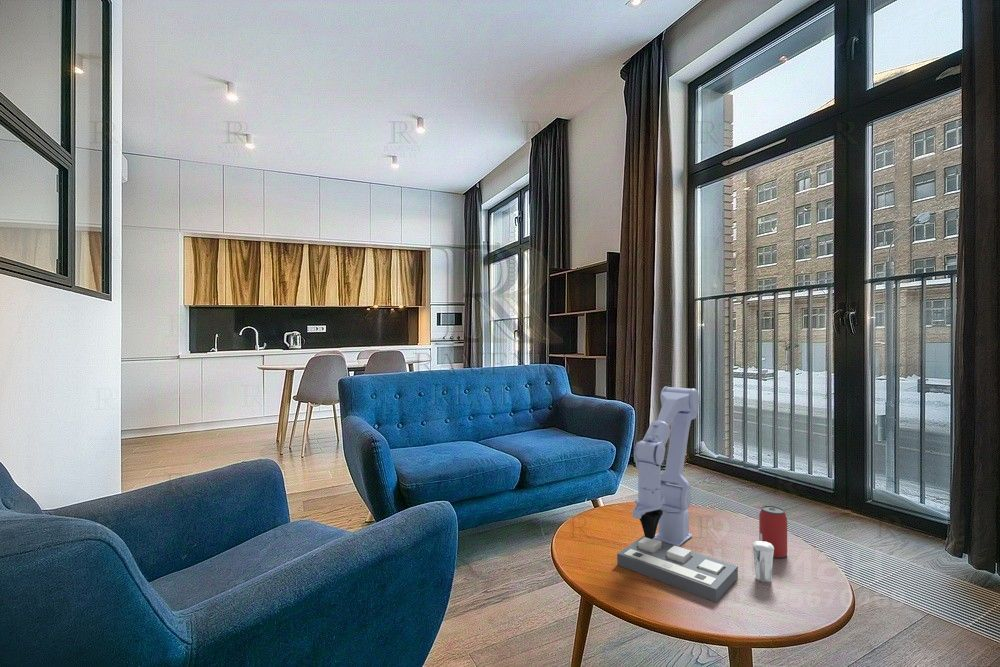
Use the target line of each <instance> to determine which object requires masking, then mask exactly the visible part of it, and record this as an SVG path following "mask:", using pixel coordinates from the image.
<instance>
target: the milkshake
mask: <svg viewBox="0 0 1000 667" xmlns="http://www.w3.org/2000/svg"><path fill="white" fill-rule="evenodd" d="M752 549H753V550H752V551H753V552H752V553H753V559H754V570H755V571H754V572H755V579H756V580H757V581H758V582H760V583H764V584H765V583H767V584H769V583H770V582H772V575H773V563H774V562H773V560H774V557H773V554H774V547H773V545H772V544H771V543H768V542H764V541H762V534H761V533H760V541H759V540H755V541H754V542H753V543H752Z"/></svg>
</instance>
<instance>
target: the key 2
mask: <svg viewBox="0 0 1000 667" xmlns="http://www.w3.org/2000/svg"><path fill="white" fill-rule="evenodd" d="M698 569H701V570H704V571H707V572H710V573H713V574H716V575H719V574H720V573H721V572H722V571H723V570H724V565H722V564H719V563H715V562H712V561H709V560H706V559H705V560H704V561H703V562H702V563H701V564H700V565H699V566H698Z"/></svg>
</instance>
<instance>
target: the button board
mask: <svg viewBox="0 0 1000 667" xmlns="http://www.w3.org/2000/svg"><path fill="white" fill-rule="evenodd" d="M644 537H645V535H642V536H641V537H640V538H638V539H636V540H635V541H633V542H632V543H630V544H629V545H628V546H626V547H624V548H623V549H621V550H620V551H619V552H617V554H616V557H617V558H616V560H617V561H616V562H617V564H616V565H617V566H619V567H623V569H624V568H625V569H627V570H630V571H633V572H635V573H638V574H641V575H643V576H646V577H648V578H650V579H654V580H656V581H660V582H661V583H664V584H667V585H669V586H671V587H675V588H677V589H680V590H682V591H685V592H688V593H689V594H692V595H695V596H698V597H701V598H704V599H706V600H709V601H711V602H713V603H717V602H718V601H719V600H720V599H721V598H722V597H723V596H724V594H725V593H727V591H729V589H730V588H731V587H732V586H733V584H735V582H736V581H737V580H738V579H739V570H738V569H739V566H738V565H735V564H732V563H730V562H726V561H724V560H719V559H717V558H713V557H710V556H707V555H704V554H701V553H698V552H694V551H692V550H691V559H690V560H689V561H688V562H686V563H685V564H683V563H681V562H678V561H675V560H672V559H669V558H667V551H668V550H669V549H670V548H672V547H673V546H674V545H672V544H668V543H665V542H662V541H661V547H662V548H661V549H660V550H659V551H657V552H656V553H655V554H654V553H651V552H648V551H646V550H643V549H640V548H638V541H640V540H641V539H643V538H644ZM705 559H706V560H709V561H712V562H715V563H719V564H722V565H724V570H723V571H722V572H721V573H720V574H719V575H716V574H713V573H710V572H707V571H704V570H701V569H698V566H699V565H700V564H701V563H702V562H703V561H704V560H705Z"/></svg>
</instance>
